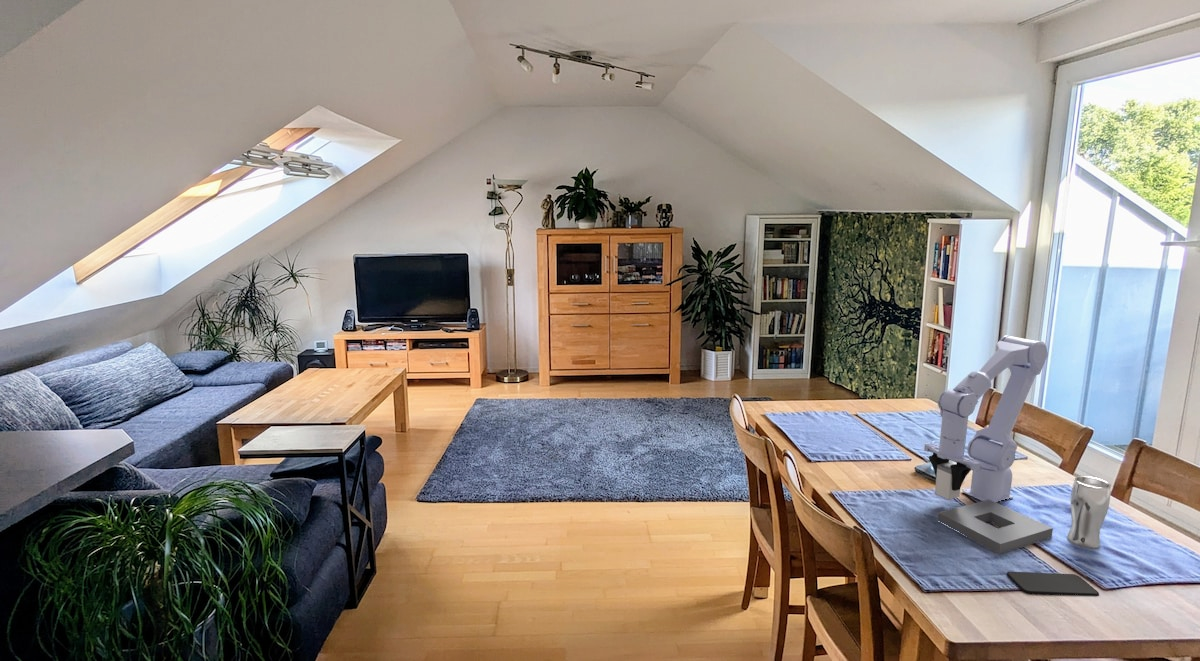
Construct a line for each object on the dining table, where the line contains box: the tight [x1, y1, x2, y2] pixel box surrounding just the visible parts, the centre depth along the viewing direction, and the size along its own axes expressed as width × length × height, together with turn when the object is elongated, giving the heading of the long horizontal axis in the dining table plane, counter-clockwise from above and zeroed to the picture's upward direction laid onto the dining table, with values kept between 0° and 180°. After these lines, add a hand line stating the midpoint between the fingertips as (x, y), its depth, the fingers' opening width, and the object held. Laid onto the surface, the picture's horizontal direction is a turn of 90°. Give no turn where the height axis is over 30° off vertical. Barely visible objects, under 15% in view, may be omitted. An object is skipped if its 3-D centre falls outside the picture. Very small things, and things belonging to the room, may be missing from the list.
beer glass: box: [1066, 475, 1112, 549], centre depth 143 cm, size 7×7×15 cm
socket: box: [937, 499, 1054, 555], centre depth 150 cm, size 18×16×2 cm
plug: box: [934, 461, 961, 500], centre depth 160 cm, size 4×4×8 cm
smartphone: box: [1006, 571, 1100, 597], centre depth 128 cm, size 7×1×15 cm
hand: (948, 486), depth 161 cm, fingers closed on plug, 4 cm apart
